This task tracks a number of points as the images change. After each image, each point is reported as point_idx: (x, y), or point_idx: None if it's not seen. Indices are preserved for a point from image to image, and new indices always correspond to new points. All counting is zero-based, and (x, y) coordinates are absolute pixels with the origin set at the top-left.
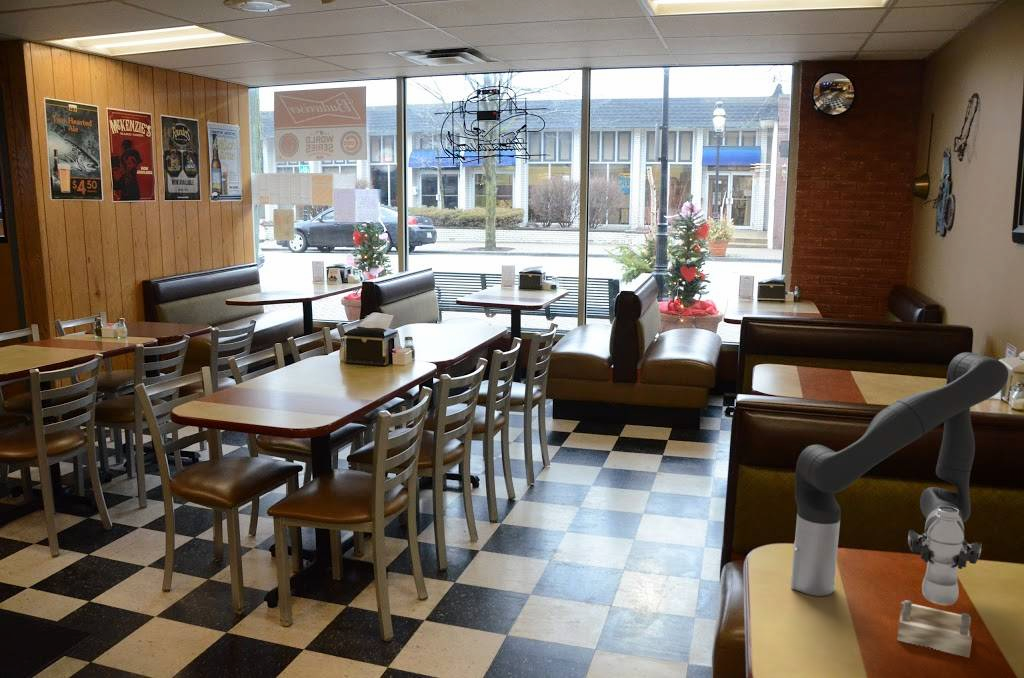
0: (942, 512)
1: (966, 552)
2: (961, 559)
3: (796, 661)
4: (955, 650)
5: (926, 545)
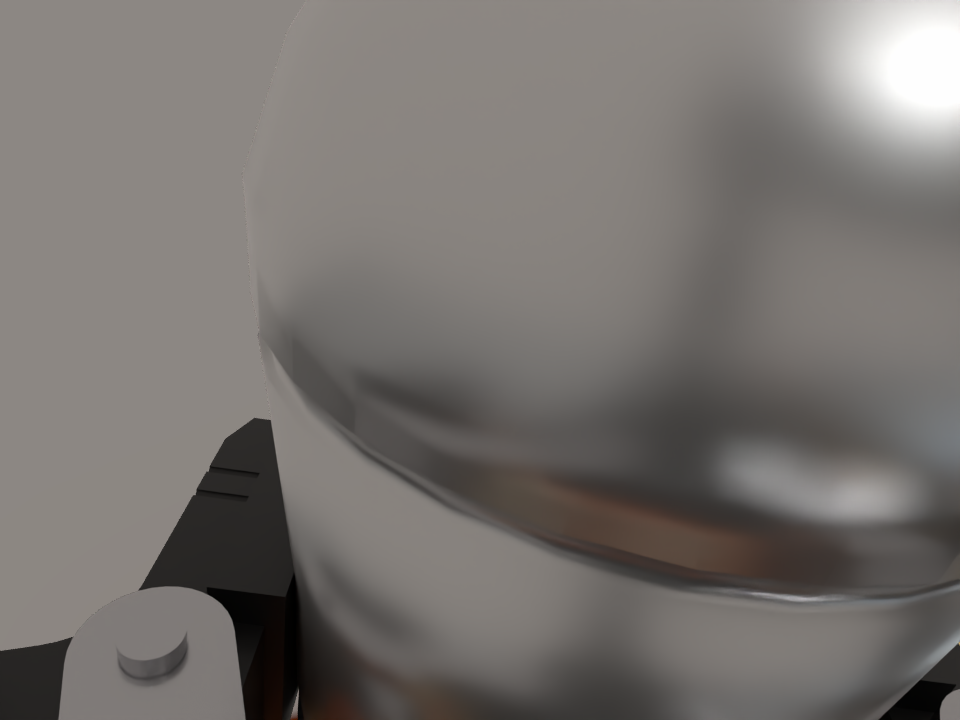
0: None
1: (109, 620)
2: None
3: None
4: None
5: (946, 699)
